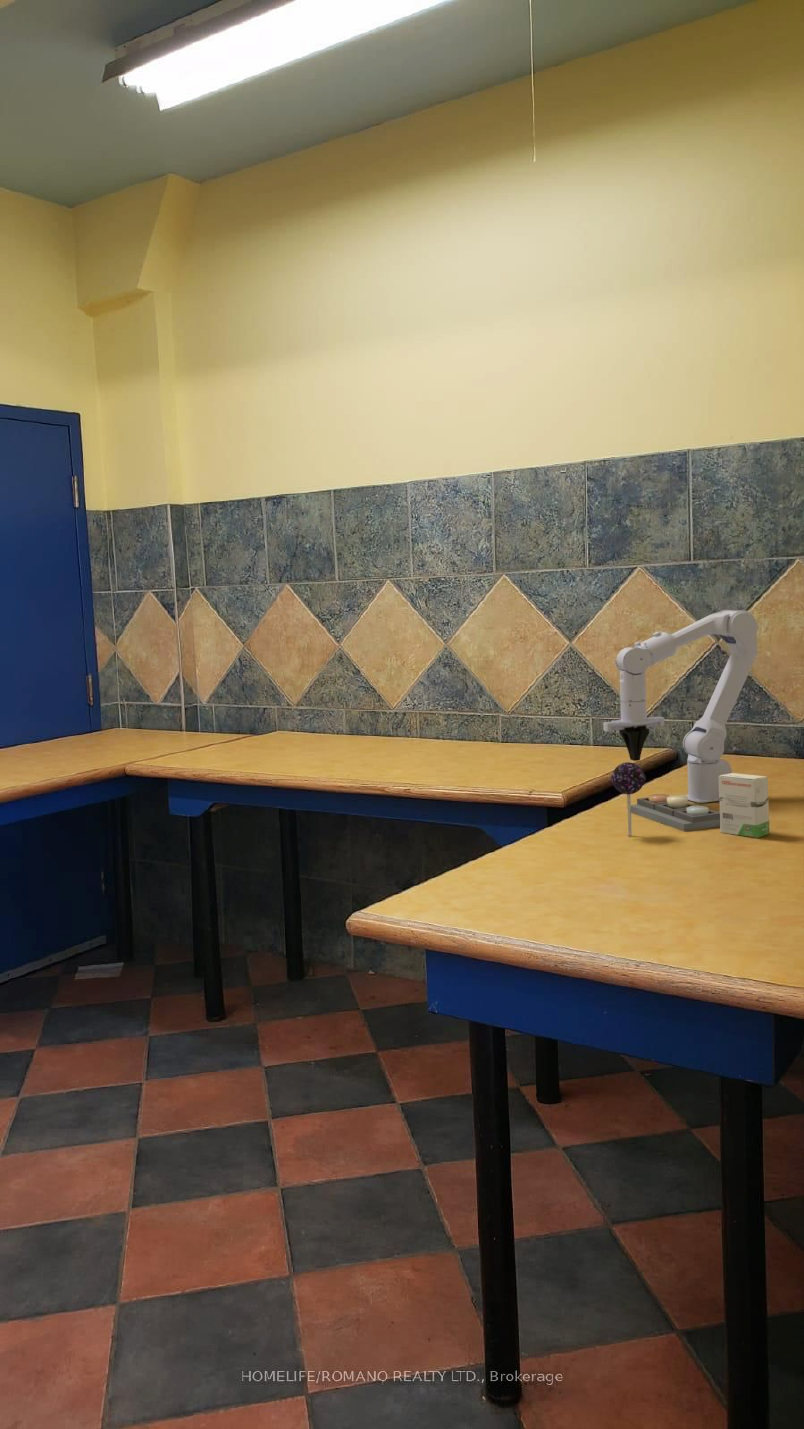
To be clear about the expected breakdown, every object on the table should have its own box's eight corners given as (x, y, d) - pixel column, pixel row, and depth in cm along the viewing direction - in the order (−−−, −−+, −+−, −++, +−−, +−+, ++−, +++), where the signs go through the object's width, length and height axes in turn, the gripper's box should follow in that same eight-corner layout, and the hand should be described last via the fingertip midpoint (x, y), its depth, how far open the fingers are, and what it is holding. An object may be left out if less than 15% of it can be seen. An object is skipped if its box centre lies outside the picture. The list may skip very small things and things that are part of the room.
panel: (672, 806, 244) (672, 794, 243) (730, 824, 223) (730, 812, 223) (629, 811, 240) (628, 799, 240) (684, 831, 220) (683, 818, 219)
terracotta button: (662, 801, 241) (662, 793, 241) (673, 804, 237) (673, 796, 237) (645, 803, 240) (644, 795, 240) (655, 806, 236) (655, 798, 236)
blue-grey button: (700, 813, 227) (700, 804, 227) (712, 817, 223) (712, 808, 223) (682, 815, 226) (682, 807, 226) (694, 819, 222) (694, 811, 221)
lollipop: (650, 838, 215) (648, 764, 213) (616, 840, 215) (613, 766, 214) (643, 830, 222) (641, 758, 220) (610, 832, 222) (607, 760, 220)
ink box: (770, 834, 214) (770, 775, 212) (756, 839, 210) (755, 779, 209) (732, 828, 220) (731, 771, 219) (718, 832, 217) (717, 774, 216)
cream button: (681, 802, 234) (680, 794, 234) (692, 806, 230) (692, 798, 230) (663, 805, 233) (662, 796, 233) (674, 808, 229) (674, 800, 228)
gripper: (652, 696, 250) (653, 754, 252) (596, 701, 246) (598, 760, 248) (668, 699, 244) (670, 758, 245) (611, 704, 239) (613, 765, 241)
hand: (635, 760), depth 246 cm, fingers closed
